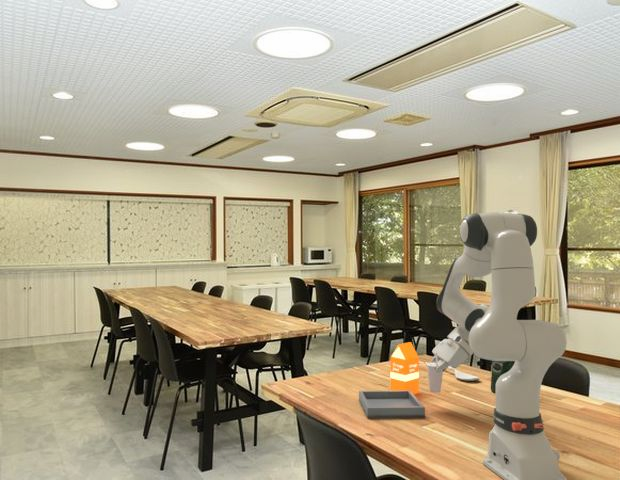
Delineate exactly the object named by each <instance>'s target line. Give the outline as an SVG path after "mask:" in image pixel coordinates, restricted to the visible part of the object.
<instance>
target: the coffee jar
mask: <svg viewBox="0 0 620 480" xmlns="http://www.w3.org/2000/svg"><path fill="white" fill-rule="evenodd" d="M514 363H515V361H492V360H491V377H490V391H491V392H493V393H495V394H496V382H497V380H498V378H499V377H500V376H501V375H503V374H505V373H506V372H508V371H509V370H510V369H511V368H512V367H513V365H514Z"/></svg>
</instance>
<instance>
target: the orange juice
mask: <svg viewBox="0 0 620 480" xmlns="http://www.w3.org/2000/svg"><path fill="white" fill-rule="evenodd" d="M419 358H420V357H419V355H418V353H417V351H416V349H415V347H414V345H413V344H412V342H411V341H410V342H409V341H408V342H403V343H400V344H397V346H396V348H395V349H394V351H393V353H392V354H391V356H390V373H389V374H390V376H389V377H390V391H407V390H410V391H411V392H412V393H413V394H414V395H416V394H419V393H420V392H419V390H420V389H419V388H420V385H419V382H420V376H419V375H420V372H419V371H420V369H419V368H420V367H419V365H420V364H419V360H420V359H419Z"/></svg>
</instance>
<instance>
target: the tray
mask: <svg viewBox="0 0 620 480" xmlns="http://www.w3.org/2000/svg"><path fill="white" fill-rule="evenodd" d="M358 401H359V404H360V406H361V407H362V410H363V412H364V414H365V416H366V418H367V419H408V418H410V419H413V418H415V419H416V418H419V419H420V418H426V412H425V411H426V407H425V405H423V403H422V402H421V401H420V400H419V399H418V397H417V396H416V394H413V393H412V392H411V391H410V390H407V391H391V390H359V391H358Z"/></svg>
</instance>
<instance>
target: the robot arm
mask: <svg viewBox="0 0 620 480" xmlns="http://www.w3.org/2000/svg"><path fill="white" fill-rule="evenodd" d="M459 235H460V240H461V242H462V243H463V244H464V247H463V252H462V254H459V255H457V256H456V257H455V258H454V259H453V261H452V263H451V266H450V267H449V270H448V272H447V276H446V278H445V281H444V284H443V286H442V288H441V290H440V292H439V294H438V296H437V298H436V308H437V309H436V310H438V312H440V313H441V314H443V315H444V316H446V317H447V318H448V319H450V320H451V321H452V322H454V323H455V324H456V325H457V326H456V327H455V328H454V329H453V330H451V332H450V333H449V334H448V335H447V336H446V337H447V338H444V339H443V340H442V341H440V342H439V343H438V344H437V345H436V346H435V347H433V349H432V351H431V353H432V354H433V355H434V356H433V357H432V358H431V360H430V362H429V363H436V352H437V362H439V361H441V362H442V364H441V365H439V366H437V367H436V368H435V371H436V372H437V373H440V372H441V371H442V370H443V371H444V370H446V369H448V368H447V367H448V366H450V367H452V368H455V369H457V368H458V367H460V366H461V365H462V364H463V363H464V362H465V361H466V360H467V359H468V357H469V356H472V355H473V354H474V355H475V356H476V357H477V358H478V359H482V360H486V361H487V360H488V361H491V362H492V361H515V363H514V365H513V367H512V368H511V369H510V370H509V371H508V372H506V373H505V374H503V375H501V376H500V377H499V378H498V380H497V382H496V393H495V407H494V409H493V423H494V426H493V427H492V429H491V430H490V431H489V433H488V447H487V457H485V458H483V459H482V464H483V465H484V466H485V467H487V468H488V469H489V470H491V471H492V472H494V473H495V474H496V475H498V476H499V477H500V478H501V479H503V480H568V479H567V477H566V476H565V475H564V474H563V472H562V471H561V470H560V468H559V467H560V465H559V460H560V457H561V456H560V453H559V451H558V450H553V447H552V446H551V441H550V440H548V438H547V437H546V435H545V433H544V430H545V427H544V425H545V424H544V421H543V417H542V414H541V413H540V405H541V404H540V402H541V388H542V383H543V379H544V377H545V374H546V373H547V371H548V369H550V367H551V366H552V364H553V363H554V362H555V361H557V360H558V359H559V358H561V357H562V356H563V355H564V353H565V351H566V349H567V341H568V340H567V336H566V334H565V332H564V330H563V328H562V327H561V326H560V325H559V324H558V323H555V322H552V321H548V320H547V321H546V320H540V319H517V318H518V313H519V311H520V310H521V309H522V308H523V307H525V306H527V305H528V304H530V303H531V302H532V301H533V300H534V299H535V297H536V292H537V291H536V280H535V279H536V278H535V268H534V260H533V255H532V249H531V246H533V245H534V243H535V241H536V240H537V237H538V226H537V223H536V221H535V219H534V218H533V217H532V216H531V215H528V214H525V213H524V214H523V213H517V214H515V213H507V212H506V213H504V212H502V213H501V212H485V213H484V212H483V213H479V212H475V213H470V214H467V215H465V216H464V217H463V218H462V220H461V223H460V227H459ZM490 274H491V276H490V277H491V296H490V297H491V298H490V301H489V305H487V304H485V303H481V304H477V303H476V302H474V301H472V300H471V299H469V298H468V297H467V296H465V295H464V294H463V293H462V292H461V290H460V287H461V285H462V282H463V280H464V277H465V276H468V277H470V278H482V277H486V276H489V275H490Z"/></svg>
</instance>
